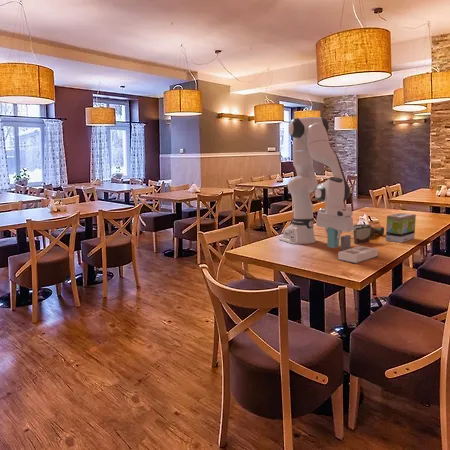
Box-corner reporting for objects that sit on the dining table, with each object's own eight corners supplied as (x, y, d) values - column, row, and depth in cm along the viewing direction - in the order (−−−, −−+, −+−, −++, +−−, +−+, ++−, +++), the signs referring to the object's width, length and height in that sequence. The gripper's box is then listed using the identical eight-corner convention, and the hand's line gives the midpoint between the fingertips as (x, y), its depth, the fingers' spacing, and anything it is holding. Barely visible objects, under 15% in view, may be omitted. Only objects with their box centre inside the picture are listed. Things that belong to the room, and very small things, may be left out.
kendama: (359, 239, 248) (370, 232, 264) (375, 241, 243) (386, 234, 258) (359, 229, 247) (371, 223, 263) (376, 231, 241) (386, 224, 257)
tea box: (402, 243, 231) (402, 217, 229) (385, 240, 239) (385, 215, 237) (415, 238, 241) (416, 213, 238) (398, 236, 248) (399, 212, 246)
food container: (363, 240, 243) (363, 223, 241) (371, 242, 238) (371, 224, 236) (347, 242, 238) (347, 225, 236) (354, 244, 232) (355, 227, 230)
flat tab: (340, 253, 215) (340, 236, 213) (347, 251, 218) (347, 234, 216) (343, 254, 213) (344, 237, 212) (350, 252, 216) (350, 235, 215)
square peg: (327, 246, 210) (327, 227, 208) (332, 245, 213) (333, 226, 211) (333, 248, 207) (334, 228, 205) (338, 246, 210) (339, 227, 208)
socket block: (338, 260, 202) (338, 252, 202) (360, 253, 213) (360, 245, 213) (355, 263, 195) (356, 255, 194) (377, 256, 205) (377, 248, 205)
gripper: (314, 208, 213) (313, 235, 215) (347, 214, 197) (346, 242, 199) (322, 207, 216) (321, 233, 219) (355, 212, 200) (354, 240, 203)
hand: (333, 237), depth 209 cm, fingers closed on square peg, 4 cm apart
